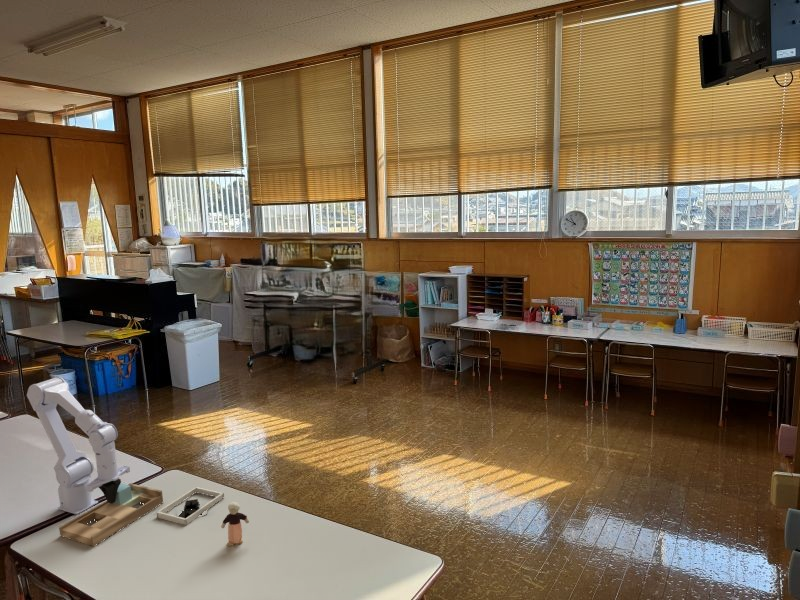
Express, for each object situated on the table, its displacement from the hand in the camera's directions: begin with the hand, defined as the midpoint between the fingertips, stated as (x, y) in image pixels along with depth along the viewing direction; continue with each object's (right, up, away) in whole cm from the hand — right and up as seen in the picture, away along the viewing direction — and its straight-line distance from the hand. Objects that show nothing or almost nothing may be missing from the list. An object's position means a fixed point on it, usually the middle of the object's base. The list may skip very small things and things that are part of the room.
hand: (111, 502), depth 178 cm
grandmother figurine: (+46, -6, -17) cm, 49 cm away
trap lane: (+2, -4, -3) cm, 6 cm away
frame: (+25, -3, +3) cm, 25 cm away
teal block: (+1, -1, +4) cm, 4 cm away
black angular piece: (+27, -4, -1) cm, 27 cm away
